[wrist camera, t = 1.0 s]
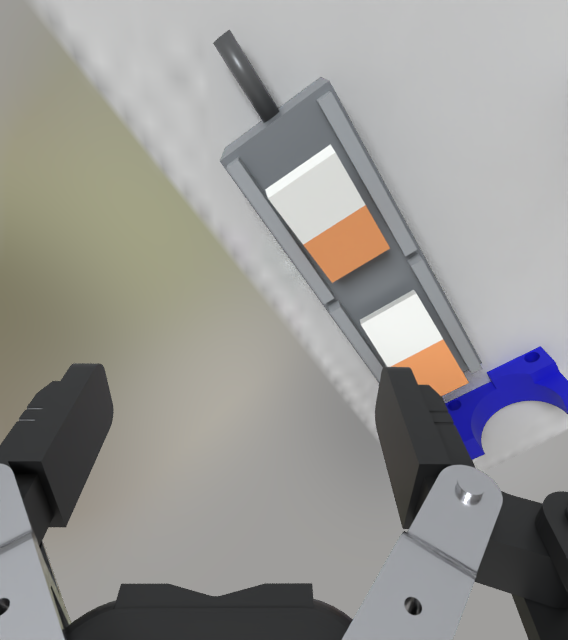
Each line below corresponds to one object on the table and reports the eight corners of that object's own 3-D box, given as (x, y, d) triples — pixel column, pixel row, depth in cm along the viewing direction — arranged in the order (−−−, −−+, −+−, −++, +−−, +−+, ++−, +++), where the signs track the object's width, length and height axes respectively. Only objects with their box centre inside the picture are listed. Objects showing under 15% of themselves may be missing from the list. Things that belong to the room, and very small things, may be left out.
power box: (175, 77, 33) (158, 82, 28) (275, -6, 31) (278, -18, 26) (383, 374, 48) (398, 414, 43) (461, 333, 46) (487, 370, 41)
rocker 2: (359, 319, 38) (360, 324, 36) (413, 289, 36) (416, 293, 35) (411, 402, 39) (414, 409, 38) (464, 376, 38) (468, 382, 37)
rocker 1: (265, 189, 29) (268, 198, 29) (330, 144, 28) (335, 152, 27) (328, 273, 35) (332, 282, 34) (384, 239, 34) (390, 248, 33)
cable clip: (539, 345, 47) (572, 380, 42) (551, 372, 49) (585, 409, 44) (435, 396, 51) (455, 435, 45) (451, 419, 53) (471, 459, 47)
